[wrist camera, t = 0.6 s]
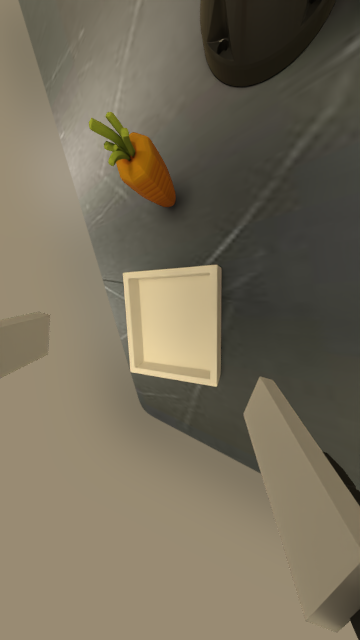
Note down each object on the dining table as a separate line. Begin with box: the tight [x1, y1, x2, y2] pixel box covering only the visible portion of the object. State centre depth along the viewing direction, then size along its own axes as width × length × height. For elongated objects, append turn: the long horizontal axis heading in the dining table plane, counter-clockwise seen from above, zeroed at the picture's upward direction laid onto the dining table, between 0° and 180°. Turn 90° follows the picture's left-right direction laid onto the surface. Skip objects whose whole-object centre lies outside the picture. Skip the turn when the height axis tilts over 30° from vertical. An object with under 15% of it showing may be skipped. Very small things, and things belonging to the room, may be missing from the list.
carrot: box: [89, 112, 176, 207], centre depth 22 cm, size 5×5×15 cm
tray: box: [123, 265, 222, 387], centre depth 30 cm, size 18×16×4 cm
